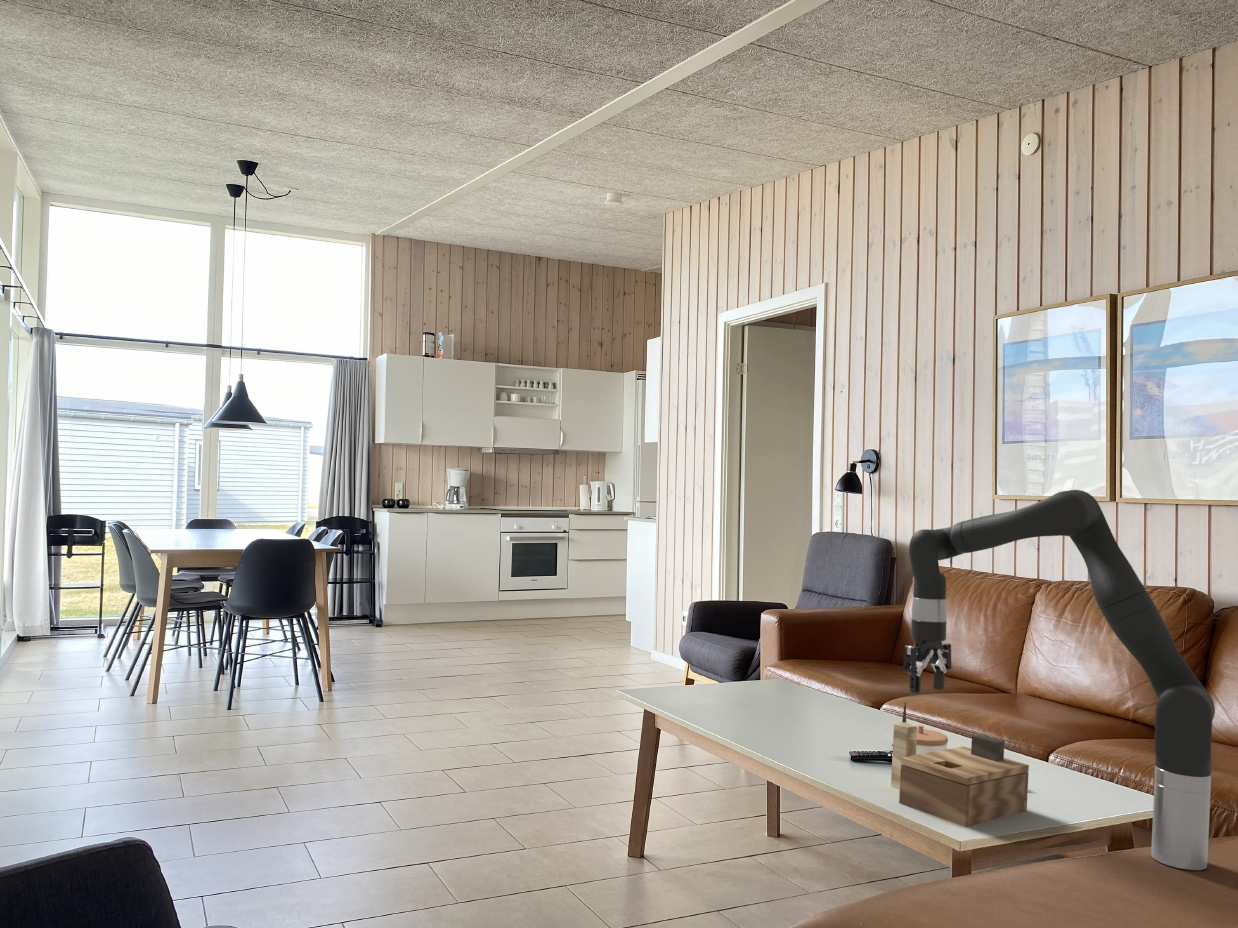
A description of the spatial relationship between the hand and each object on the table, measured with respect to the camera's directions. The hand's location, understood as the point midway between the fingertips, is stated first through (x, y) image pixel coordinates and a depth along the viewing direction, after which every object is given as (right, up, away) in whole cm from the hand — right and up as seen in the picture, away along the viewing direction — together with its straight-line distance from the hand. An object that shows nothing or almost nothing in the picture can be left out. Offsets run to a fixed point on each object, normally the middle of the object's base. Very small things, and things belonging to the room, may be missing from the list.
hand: (926, 690), depth 220 cm
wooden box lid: (+5, -14, -11) cm, 18 cm away
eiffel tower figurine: (+7, -25, +41) cm, 49 cm away
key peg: (-5, -23, 0) cm, 23 cm away
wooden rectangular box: (+4, -23, -11) cm, 26 cm away
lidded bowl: (+4, -24, +18) cm, 30 cm away
